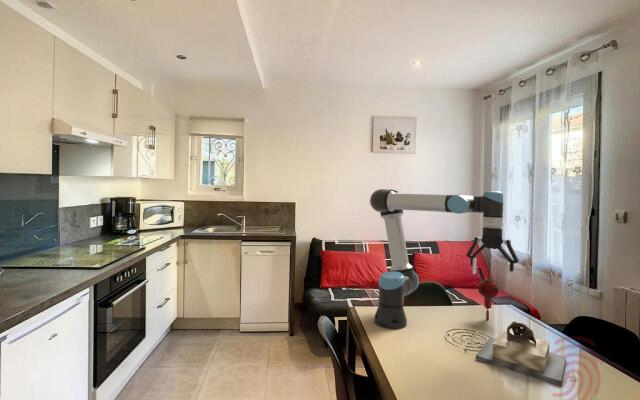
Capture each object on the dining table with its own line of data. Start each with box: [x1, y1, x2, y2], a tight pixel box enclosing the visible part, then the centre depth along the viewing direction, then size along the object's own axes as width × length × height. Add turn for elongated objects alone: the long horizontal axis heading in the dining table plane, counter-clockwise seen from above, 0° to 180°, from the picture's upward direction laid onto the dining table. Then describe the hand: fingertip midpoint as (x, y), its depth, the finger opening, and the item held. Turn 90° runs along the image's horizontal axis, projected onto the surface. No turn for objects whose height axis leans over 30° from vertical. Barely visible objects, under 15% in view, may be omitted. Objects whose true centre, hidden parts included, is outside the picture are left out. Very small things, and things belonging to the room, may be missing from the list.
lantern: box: [477, 271, 500, 321], centre depth 167 cm, size 10×10×30 cm
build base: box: [475, 330, 567, 386], centre depth 126 cm, size 26×22×6 cm
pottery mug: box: [506, 321, 537, 345], centre depth 127 cm, size 12×10×8 cm
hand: (491, 276), depth 145 cm, fingers open, 13 cm apart
